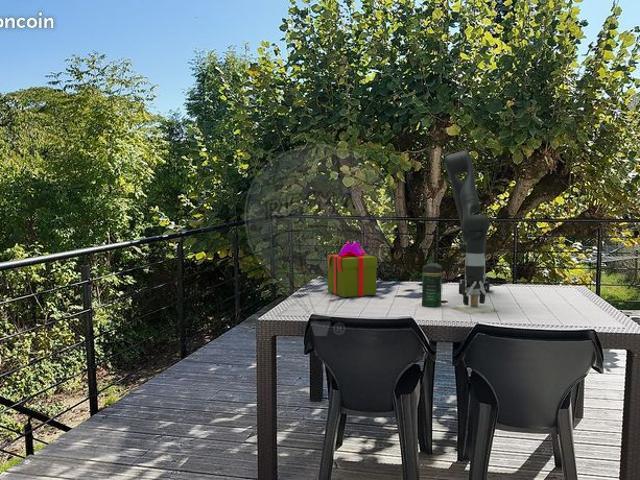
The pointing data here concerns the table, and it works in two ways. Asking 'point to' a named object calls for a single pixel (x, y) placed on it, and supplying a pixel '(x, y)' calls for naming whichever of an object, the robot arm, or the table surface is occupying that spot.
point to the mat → (474, 313)
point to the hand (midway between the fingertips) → (473, 304)
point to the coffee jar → (432, 285)
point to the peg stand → (474, 306)
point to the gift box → (352, 272)
